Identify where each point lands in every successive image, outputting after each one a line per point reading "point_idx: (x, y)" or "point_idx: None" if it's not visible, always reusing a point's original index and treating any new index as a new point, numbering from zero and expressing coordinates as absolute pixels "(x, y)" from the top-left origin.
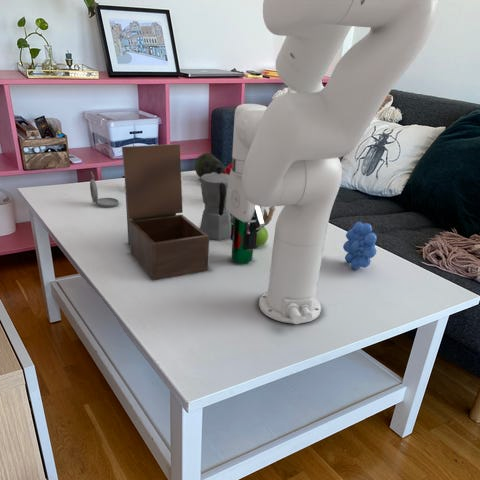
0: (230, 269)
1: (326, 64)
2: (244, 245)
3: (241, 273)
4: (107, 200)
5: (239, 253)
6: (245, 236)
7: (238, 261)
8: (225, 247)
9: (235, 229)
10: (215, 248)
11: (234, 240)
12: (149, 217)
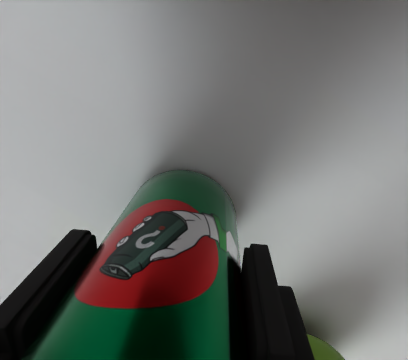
0: (115, 110)
1: None
2: (57, 248)
3: (57, 137)
4: None
5: (129, 204)
6: (4, 308)
7: (145, 182)
8: (357, 229)
9: (113, 311)
10: (379, 179)
11: (153, 231)
12: None
